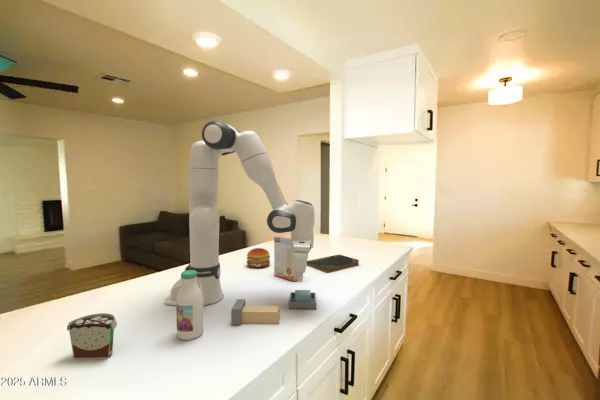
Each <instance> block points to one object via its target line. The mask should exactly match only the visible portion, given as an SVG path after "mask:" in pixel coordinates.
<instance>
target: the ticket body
mask: <svg viewBox="0 0 600 400" xmlns="http://www.w3.org/2000/svg"><path fill="white" fill-rule="evenodd" d="M230 314H231V315H230V316H231V317H230V320H231V326H241V325H242V324H260V325H261V324H267V325H269V324H271V325H273V324H276V325H278V324H279V323H280V318H281V316H280V315H281V306H280V305H246V299H243V298H240V299H239V298H238V299H236V300H235V301H234V304H233V306H232V307H231V311H230Z"/></svg>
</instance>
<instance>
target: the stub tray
mask: <svg viewBox="0 0 600 400" xmlns="http://www.w3.org/2000/svg"><path fill="white" fill-rule="evenodd" d="M288 309H289V310H317V295H316V292H311V302H295V291H293V292H292V291H291V292H290V293H289V301H288Z"/></svg>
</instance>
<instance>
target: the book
mask: <svg viewBox="0 0 600 400" xmlns="http://www.w3.org/2000/svg"><path fill="white" fill-rule="evenodd" d="M359 262H360V259H357V258H354V257H349V256H347V255H342V254H334V255H331V256H324V257H320V258H315V259H311V260H307V265H306V267H310V268H313V269H316V270H318V271H320V272H323V273H326V274H329V273H333V272H337V271H340V270H346V269H350V268H354V267H358V266H359Z"/></svg>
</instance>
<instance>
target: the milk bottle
mask: <svg viewBox="0 0 600 400" xmlns="http://www.w3.org/2000/svg"><path fill="white" fill-rule="evenodd" d="M180 277H181V278H180V279H181V280H182V285H181V288H180V290H179V292H178V295H177V301H176V313H175V314H176V337H177V338H178V339H179V340H182V341H191V340H195V339H197V338H199V337H200V336H202V334H203V333H204V306H203V301H202V293H201V291H200V289H199V287H198V285H197V282H196V279H197V271H195V270H187V271H185V270H183V271H181V273H180Z"/></svg>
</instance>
